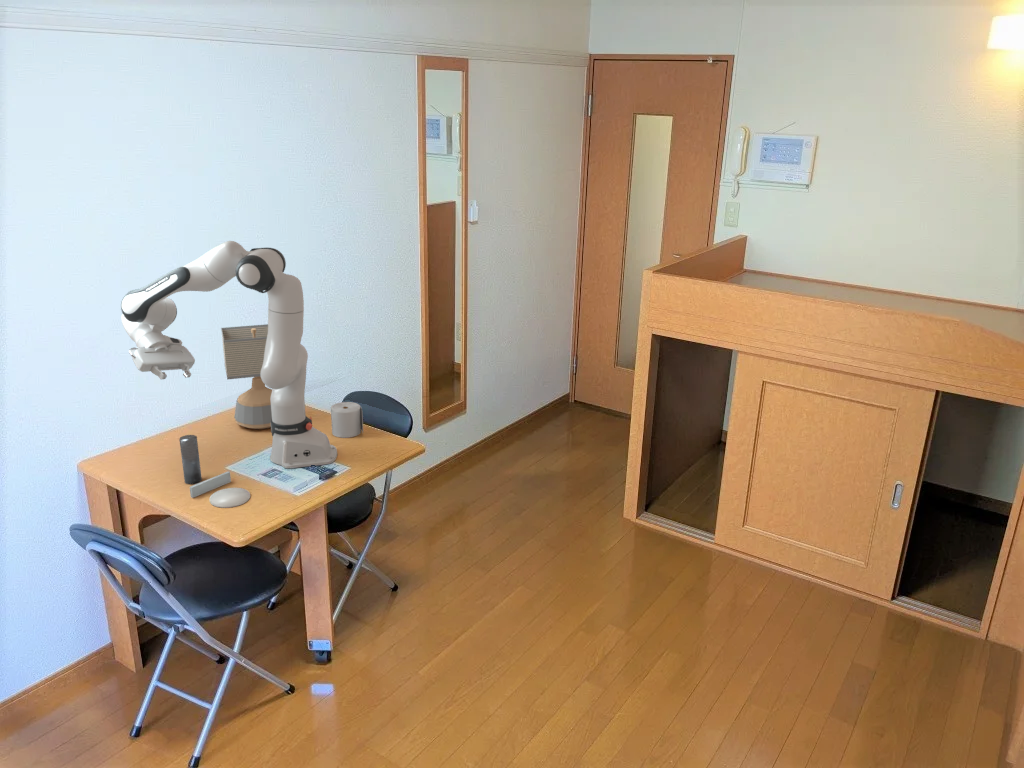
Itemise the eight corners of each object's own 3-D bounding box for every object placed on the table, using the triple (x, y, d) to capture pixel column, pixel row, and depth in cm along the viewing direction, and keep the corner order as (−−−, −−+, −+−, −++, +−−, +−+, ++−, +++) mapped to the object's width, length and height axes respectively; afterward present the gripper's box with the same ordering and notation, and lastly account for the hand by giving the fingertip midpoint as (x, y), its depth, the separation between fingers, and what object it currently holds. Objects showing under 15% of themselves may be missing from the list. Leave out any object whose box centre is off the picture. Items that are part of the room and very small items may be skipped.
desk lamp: (233, 435, 302) (223, 339, 289) (229, 416, 319) (220, 324, 306) (294, 428, 310) (287, 334, 297) (287, 410, 326) (281, 319, 314)
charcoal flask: (203, 476, 272) (198, 434, 266) (199, 484, 267) (194, 441, 262) (186, 477, 271) (181, 434, 266) (182, 484, 266) (177, 441, 261)
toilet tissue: (334, 426, 313) (333, 401, 309) (366, 426, 313) (365, 402, 310) (329, 438, 303) (328, 412, 299) (362, 438, 303) (361, 412, 300)
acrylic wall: (229, 480, 269) (228, 471, 268) (231, 481, 269) (230, 472, 268) (190, 497, 259) (189, 486, 257) (192, 497, 258) (191, 487, 257)
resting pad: (253, 488, 265) (253, 487, 265) (246, 507, 254) (246, 505, 253) (214, 489, 263) (214, 488, 263) (205, 508, 252) (205, 506, 252)
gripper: (130, 340, 262) (152, 372, 258) (184, 339, 280) (206, 368, 276) (122, 355, 265) (144, 386, 260) (176, 352, 282) (197, 381, 278)
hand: (176, 377), depth 268 cm, fingers open, 8 cm apart
